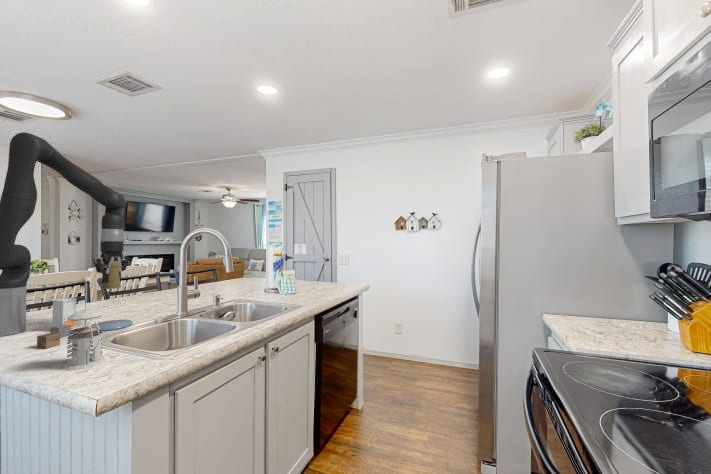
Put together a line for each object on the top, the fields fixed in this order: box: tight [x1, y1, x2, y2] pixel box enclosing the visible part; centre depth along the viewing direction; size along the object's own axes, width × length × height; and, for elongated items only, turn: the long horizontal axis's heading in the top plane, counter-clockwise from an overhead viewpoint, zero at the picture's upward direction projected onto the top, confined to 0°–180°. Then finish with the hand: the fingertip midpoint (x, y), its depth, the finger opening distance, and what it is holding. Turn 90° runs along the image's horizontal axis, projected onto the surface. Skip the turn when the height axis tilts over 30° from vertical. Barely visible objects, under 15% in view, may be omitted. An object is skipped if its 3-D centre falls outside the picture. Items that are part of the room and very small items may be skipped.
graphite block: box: [49, 324, 72, 339], centre depth 117 cm, size 4×4×4 cm
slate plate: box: [88, 319, 133, 332], centre depth 131 cm, size 14×14×1 cm
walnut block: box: [36, 332, 61, 350], centre depth 107 cm, size 4×4×4 cm
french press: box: [62, 276, 107, 371], centre depth 93 cm, size 10×12×25 cm
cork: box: [102, 261, 122, 290], centre depth 131 cm, size 6×6×11 cm
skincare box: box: [51, 297, 78, 330], centre depth 126 cm, size 6×4×12 cm
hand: (111, 282), depth 131 cm, fingers closed on cork, 4 cm apart
